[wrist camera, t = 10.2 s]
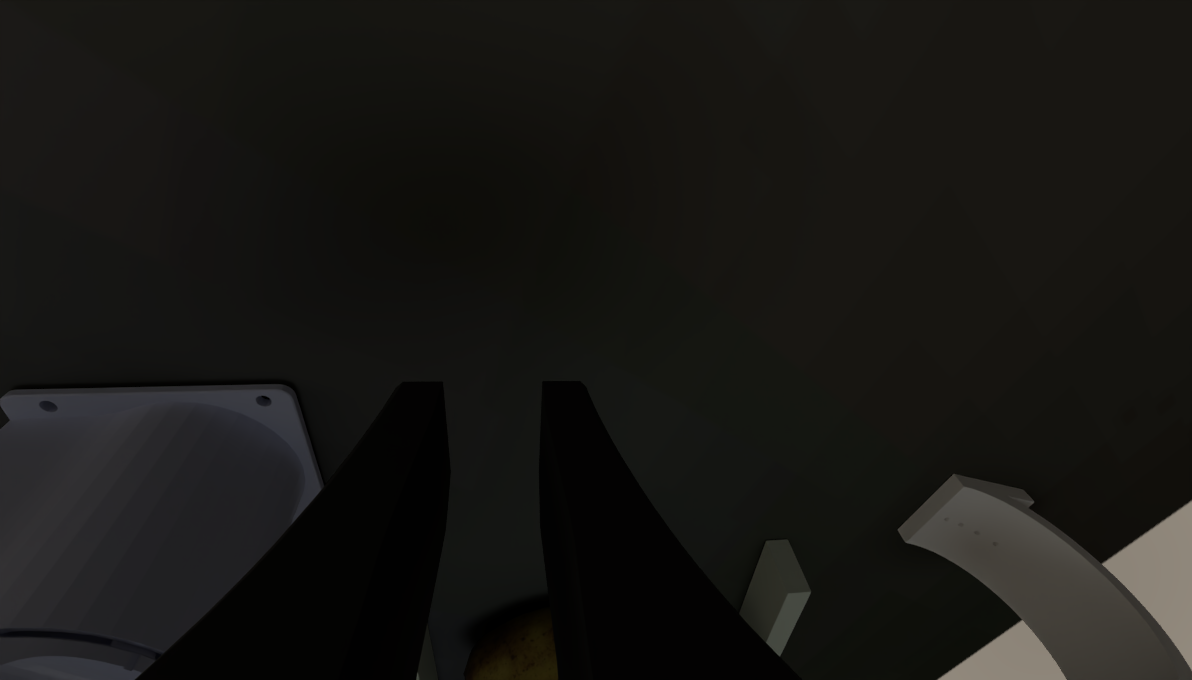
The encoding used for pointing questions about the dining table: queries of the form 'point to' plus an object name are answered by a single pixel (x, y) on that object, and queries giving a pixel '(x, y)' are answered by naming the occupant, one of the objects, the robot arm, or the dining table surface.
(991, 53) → the dining table surface
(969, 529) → the headphone stand
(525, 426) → the dining table surface
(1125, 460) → the dining table surface
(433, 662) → the grey u-shaped bar
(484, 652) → the potato
